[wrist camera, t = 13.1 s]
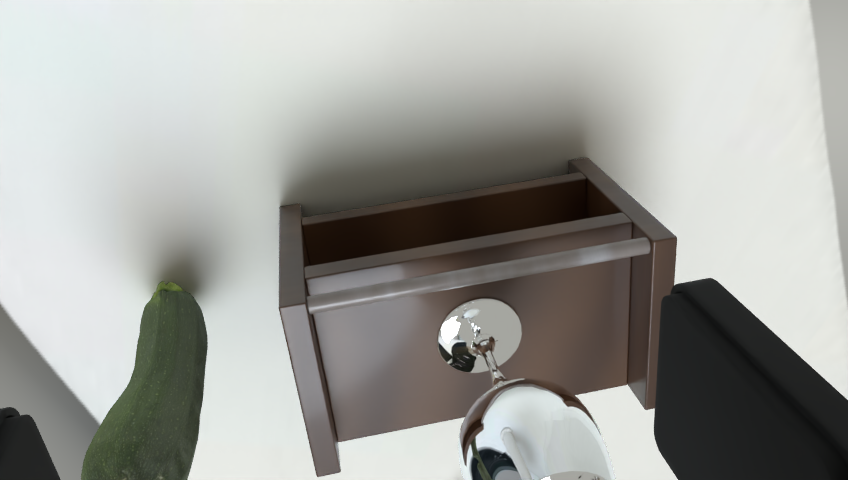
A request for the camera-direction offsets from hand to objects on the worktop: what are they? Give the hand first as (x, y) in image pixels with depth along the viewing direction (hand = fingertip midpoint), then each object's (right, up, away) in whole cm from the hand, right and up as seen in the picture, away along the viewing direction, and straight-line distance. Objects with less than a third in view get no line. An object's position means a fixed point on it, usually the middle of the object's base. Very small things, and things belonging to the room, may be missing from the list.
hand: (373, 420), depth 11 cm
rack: (+2, +2, +34) cm, 34 cm away
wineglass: (+3, -2, +26) cm, 26 cm away
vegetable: (-14, -1, +32) cm, 35 cm away
